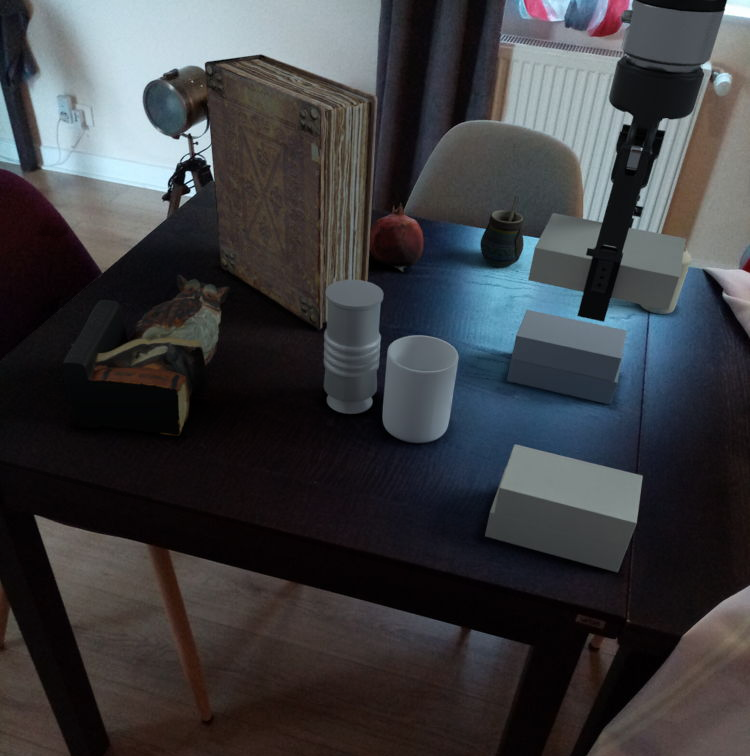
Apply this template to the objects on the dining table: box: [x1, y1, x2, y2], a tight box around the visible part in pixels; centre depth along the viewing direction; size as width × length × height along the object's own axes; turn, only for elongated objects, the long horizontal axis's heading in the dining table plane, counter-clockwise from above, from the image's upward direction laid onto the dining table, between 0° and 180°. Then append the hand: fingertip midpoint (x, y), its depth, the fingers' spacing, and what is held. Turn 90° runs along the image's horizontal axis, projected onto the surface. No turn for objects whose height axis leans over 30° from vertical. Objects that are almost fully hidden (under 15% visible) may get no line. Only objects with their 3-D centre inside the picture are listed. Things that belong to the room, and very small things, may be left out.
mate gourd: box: [479, 196, 525, 268], centre depth 131 cm, size 7×8×10 cm
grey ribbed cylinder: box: [323, 280, 385, 415], centre depth 96 cm, size 7×7×15 cm
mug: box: [381, 334, 460, 444], centre depth 95 cm, size 12×8×10 cm
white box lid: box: [527, 212, 687, 310], centre depth 80 cm, size 14×10×4 cm
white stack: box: [484, 443, 644, 573], centre depth 82 cm, size 14×8×7 cm, turn 71°
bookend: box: [61, 274, 230, 437], centre depth 98 cm, size 15×11×25 cm
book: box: [204, 53, 378, 331], centre depth 112 cm, size 25×9×30 cm, turn 42°
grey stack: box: [506, 309, 628, 405], centre depth 105 cm, size 14×8×7 cm, turn 71°
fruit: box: [369, 202, 424, 273], centre depth 128 cm, size 9×10×10 cm
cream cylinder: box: [639, 246, 693, 315], centre depth 122 cm, size 6×6×10 cm
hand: (598, 295), depth 83 cm, fingers closed on white box lid, 10 cm apart
